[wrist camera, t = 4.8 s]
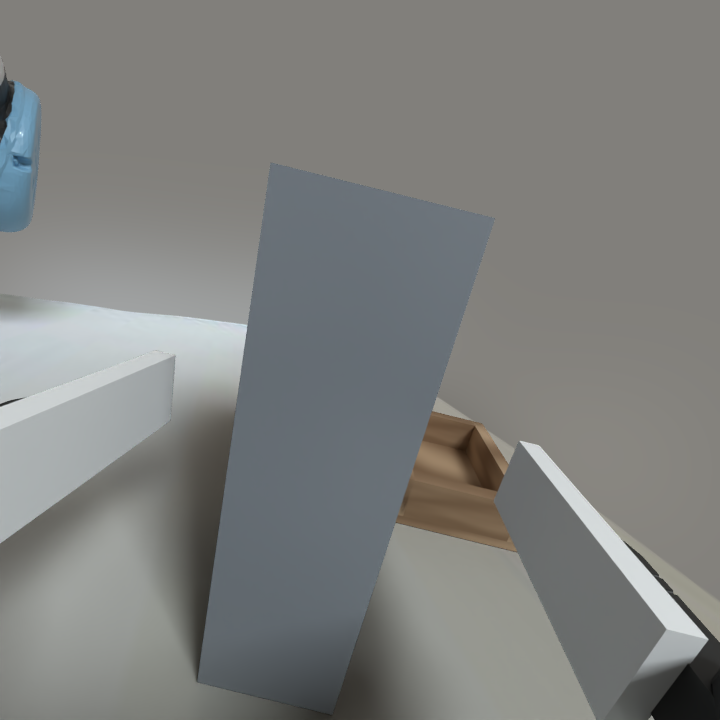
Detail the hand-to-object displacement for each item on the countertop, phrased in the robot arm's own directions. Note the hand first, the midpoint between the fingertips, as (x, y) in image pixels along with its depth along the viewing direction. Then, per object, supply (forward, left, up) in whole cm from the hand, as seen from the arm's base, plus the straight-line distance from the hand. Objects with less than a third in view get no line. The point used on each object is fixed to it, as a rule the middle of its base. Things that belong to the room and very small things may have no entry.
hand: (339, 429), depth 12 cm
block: (-1, 0, -9) cm, 9 cm away
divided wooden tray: (-9, +11, -9) cm, 17 cm away
